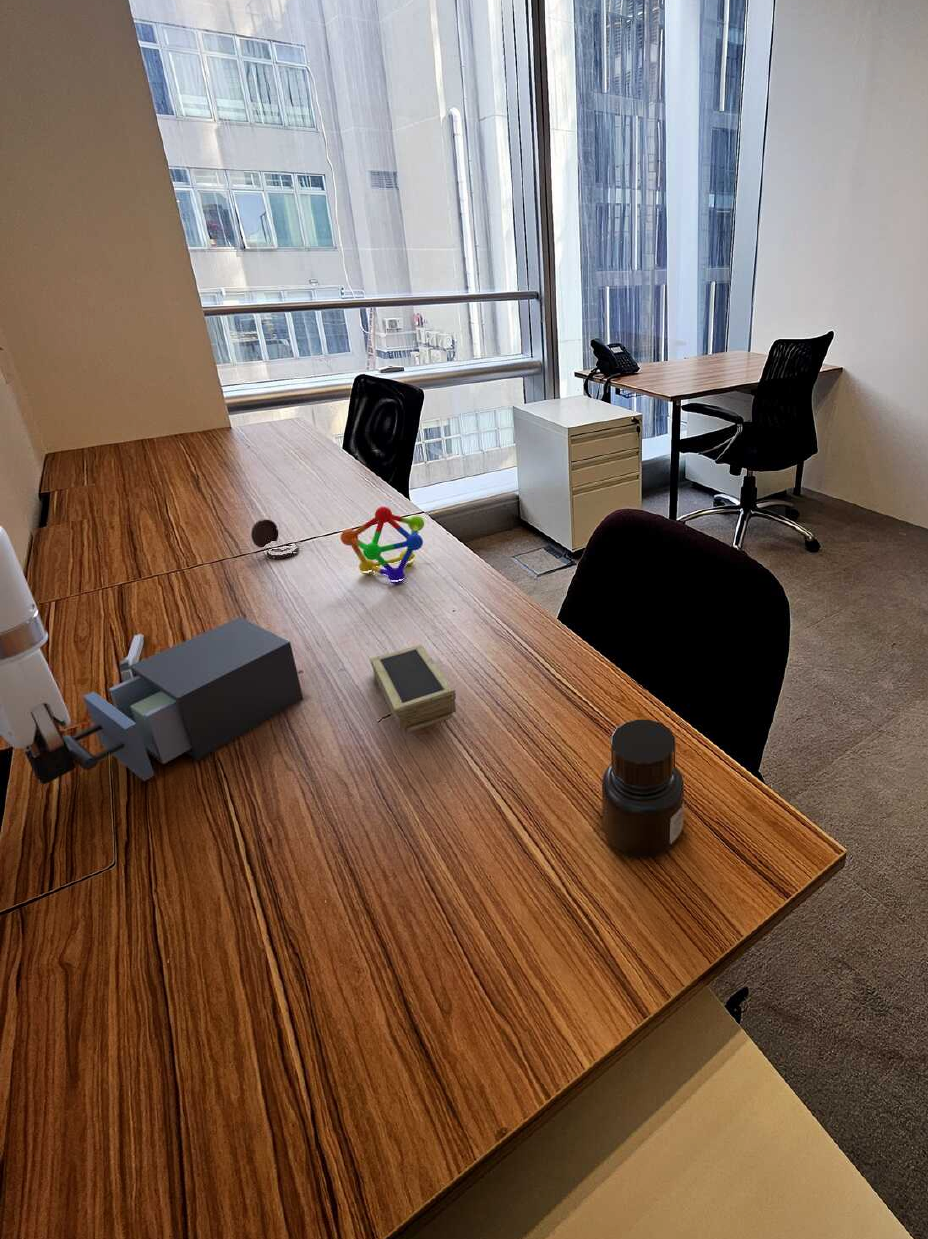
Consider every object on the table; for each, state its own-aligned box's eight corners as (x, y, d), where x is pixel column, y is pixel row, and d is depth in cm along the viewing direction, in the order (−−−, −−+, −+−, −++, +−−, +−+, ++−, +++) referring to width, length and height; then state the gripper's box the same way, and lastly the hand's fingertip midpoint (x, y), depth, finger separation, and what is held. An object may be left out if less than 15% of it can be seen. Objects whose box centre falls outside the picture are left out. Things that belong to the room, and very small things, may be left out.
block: (156, 747, 82) (146, 718, 80) (139, 734, 84) (129, 705, 83) (194, 727, 86) (185, 698, 84) (177, 715, 88) (168, 687, 86)
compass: (284, 561, 136) (277, 529, 133) (254, 556, 138) (246, 524, 135) (312, 546, 143) (306, 515, 140) (283, 541, 145) (277, 511, 142)
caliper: (140, 703, 93) (127, 666, 91) (131, 706, 93) (118, 669, 90) (144, 637, 109) (133, 604, 107) (136, 639, 109) (125, 606, 106)
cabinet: (197, 760, 83) (177, 698, 79) (149, 725, 89) (129, 665, 85) (303, 698, 94) (290, 641, 90) (254, 671, 100) (240, 616, 97)
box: (402, 746, 83) (395, 710, 82) (366, 681, 102) (361, 651, 100) (465, 724, 87) (460, 689, 86) (420, 665, 106) (415, 636, 105)
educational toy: (378, 605, 121) (357, 532, 114) (350, 581, 130) (329, 513, 123) (452, 571, 130) (436, 503, 123) (421, 551, 139) (406, 486, 132)
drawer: (103, 805, 75) (81, 751, 72) (61, 766, 81) (40, 715, 78) (254, 718, 89) (241, 670, 86) (209, 690, 94) (196, 644, 91)
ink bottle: (696, 852, 70) (700, 764, 65) (616, 873, 67) (615, 783, 63) (664, 786, 78) (666, 704, 74) (593, 802, 76) (590, 719, 71)
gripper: (-74, 633, 69) (-8, 768, 76) (-26, 679, 62) (42, 824, 69) (16, 603, 75) (69, 731, 82) (70, 641, 67) (123, 779, 74)
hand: (57, 773), depth 75 cm, fingers closed
